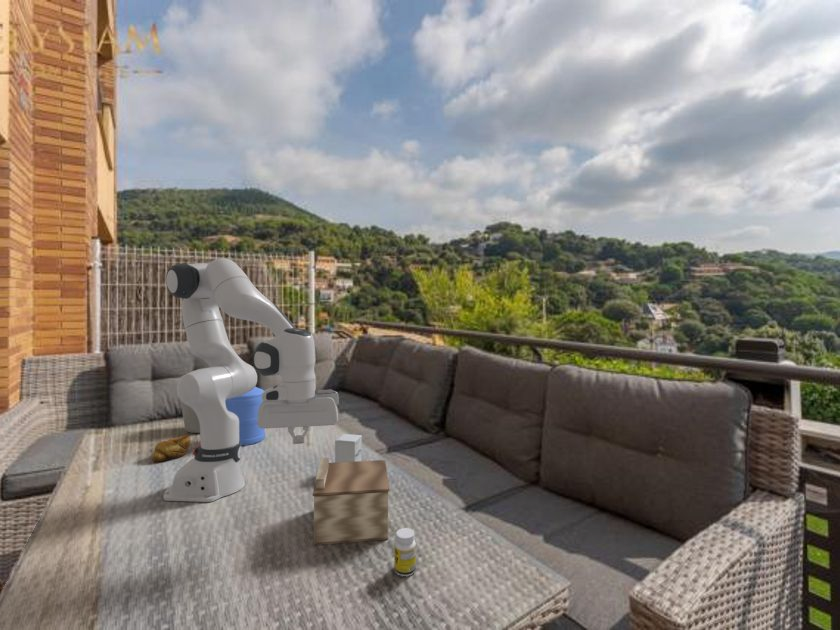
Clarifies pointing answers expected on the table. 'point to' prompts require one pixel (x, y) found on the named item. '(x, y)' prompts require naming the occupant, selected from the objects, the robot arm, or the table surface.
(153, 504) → the table surface
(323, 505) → the box
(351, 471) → the lid
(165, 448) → the bread roll
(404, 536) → the supplement bottle
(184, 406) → the canister
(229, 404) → the water jug
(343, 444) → the supplement box
